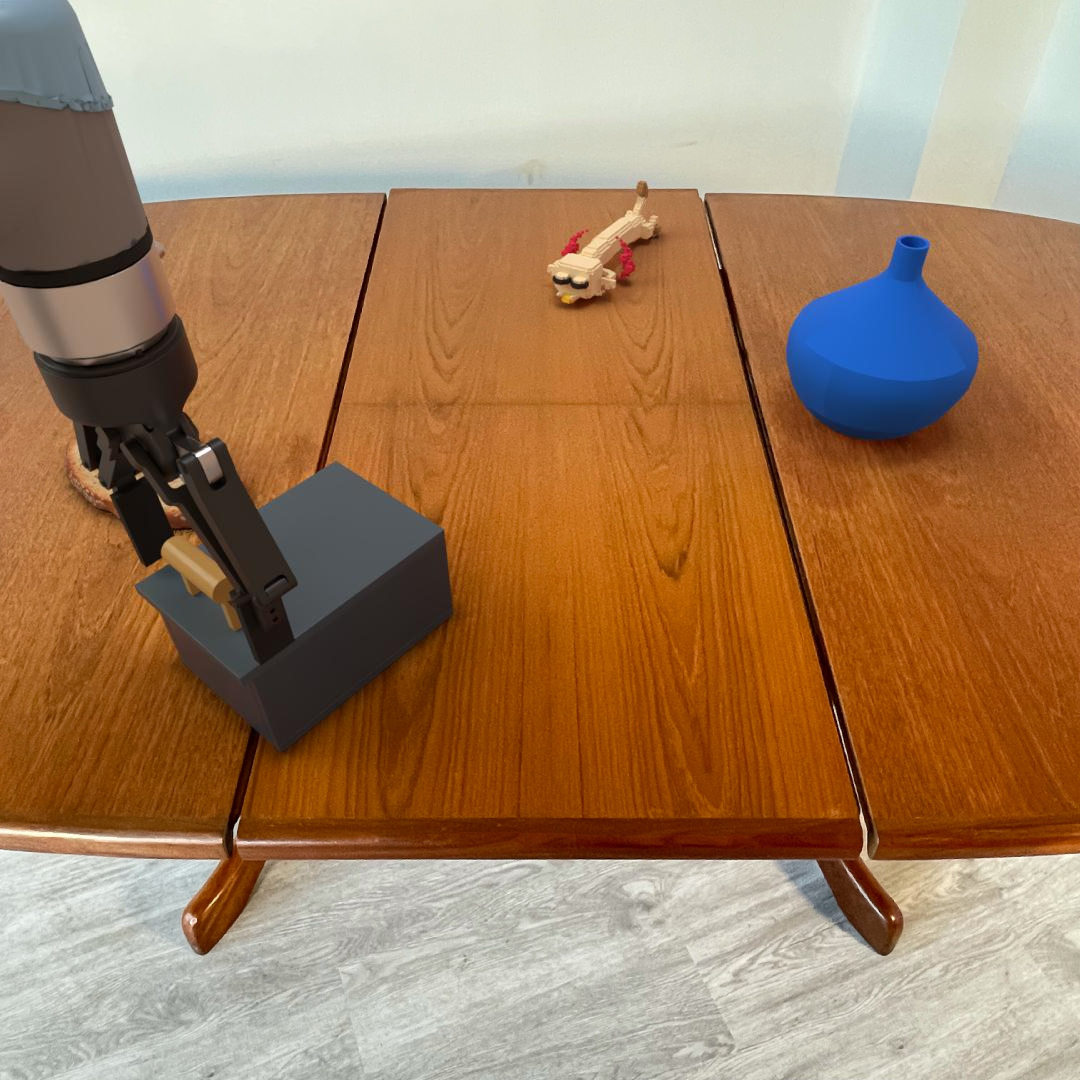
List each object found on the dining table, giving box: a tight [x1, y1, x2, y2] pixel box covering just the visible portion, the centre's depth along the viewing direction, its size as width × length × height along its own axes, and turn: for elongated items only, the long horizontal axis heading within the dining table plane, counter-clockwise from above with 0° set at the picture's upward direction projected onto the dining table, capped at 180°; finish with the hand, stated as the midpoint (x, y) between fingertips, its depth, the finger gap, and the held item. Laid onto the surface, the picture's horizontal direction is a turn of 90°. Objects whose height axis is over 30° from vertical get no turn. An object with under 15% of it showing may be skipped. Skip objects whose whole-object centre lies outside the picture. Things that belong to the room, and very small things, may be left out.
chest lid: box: [133, 460, 446, 686], centre depth 63 cm, size 19×13×6 cm
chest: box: [159, 536, 454, 754], centre depth 69 cm, size 18×13×9 cm
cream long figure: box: [546, 180, 662, 305], centre depth 115 cm, size 10×9×25 cm
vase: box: [785, 234, 980, 441], centre depth 87 cm, size 18×18×19 cm
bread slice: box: [64, 435, 192, 530], centre depth 86 cm, size 18×18×4 cm
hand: (214, 600), depth 61 cm, fingers open, 13 cm apart
